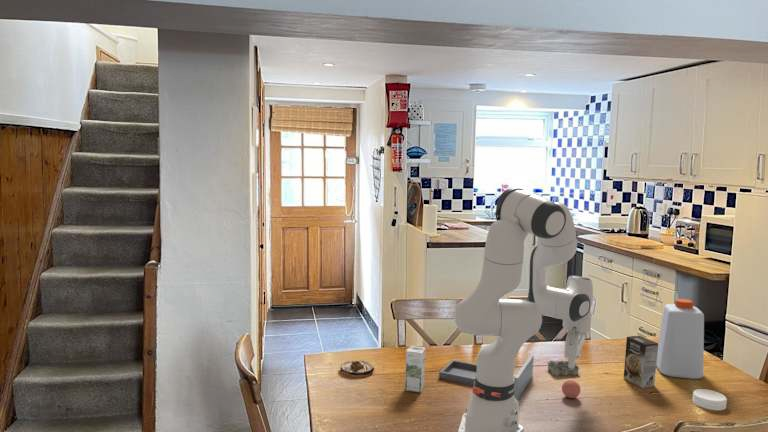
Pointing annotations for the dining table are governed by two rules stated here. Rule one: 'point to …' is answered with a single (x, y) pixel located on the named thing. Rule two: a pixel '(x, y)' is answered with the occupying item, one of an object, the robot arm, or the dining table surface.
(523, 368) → the slate plastic wall
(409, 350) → the syrup box
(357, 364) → the dark rimmed plate
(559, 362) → the egg carton
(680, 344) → the plastic bottle
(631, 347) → the coffee box
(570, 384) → the rubber ball
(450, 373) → the charcoal tray
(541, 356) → the dining table surface
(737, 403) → the dining table surface
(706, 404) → the white round lid
